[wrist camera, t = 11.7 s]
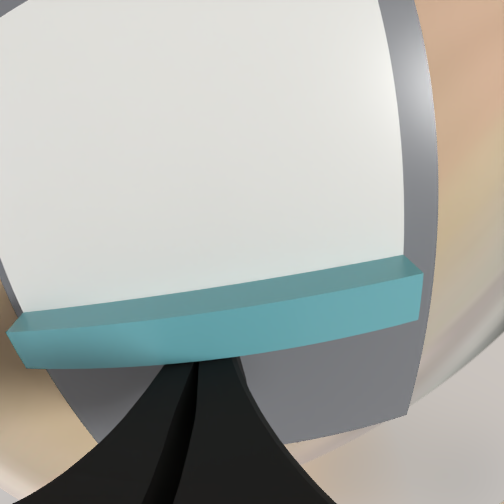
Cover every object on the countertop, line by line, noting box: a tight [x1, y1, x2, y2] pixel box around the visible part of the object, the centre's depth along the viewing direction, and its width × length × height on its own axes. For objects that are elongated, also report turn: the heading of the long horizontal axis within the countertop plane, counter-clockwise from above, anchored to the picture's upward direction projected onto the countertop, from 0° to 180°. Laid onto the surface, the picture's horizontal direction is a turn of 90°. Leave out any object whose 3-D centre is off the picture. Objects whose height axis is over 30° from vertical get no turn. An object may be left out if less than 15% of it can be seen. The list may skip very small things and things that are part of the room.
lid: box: [0, 0, 424, 369], centre depth 6 cm, size 10×9×2 cm
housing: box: [0, 0, 438, 444], centre depth 8 cm, size 14×26×3 cm, turn 9°
